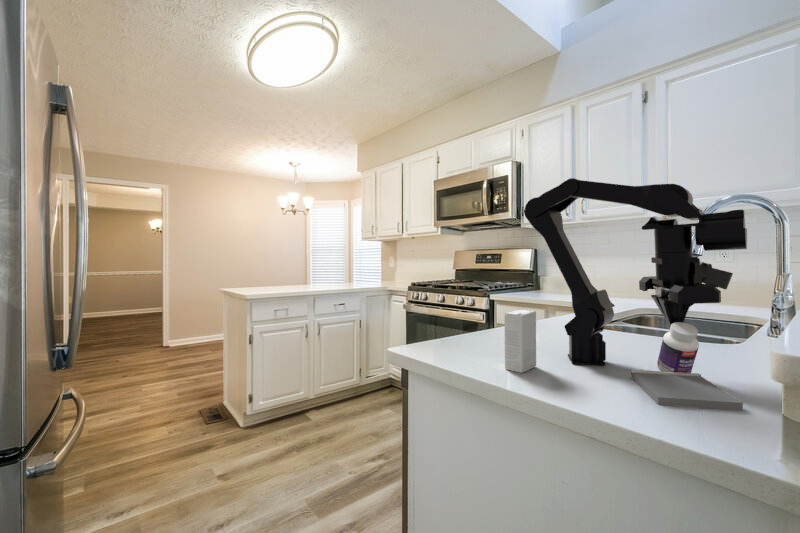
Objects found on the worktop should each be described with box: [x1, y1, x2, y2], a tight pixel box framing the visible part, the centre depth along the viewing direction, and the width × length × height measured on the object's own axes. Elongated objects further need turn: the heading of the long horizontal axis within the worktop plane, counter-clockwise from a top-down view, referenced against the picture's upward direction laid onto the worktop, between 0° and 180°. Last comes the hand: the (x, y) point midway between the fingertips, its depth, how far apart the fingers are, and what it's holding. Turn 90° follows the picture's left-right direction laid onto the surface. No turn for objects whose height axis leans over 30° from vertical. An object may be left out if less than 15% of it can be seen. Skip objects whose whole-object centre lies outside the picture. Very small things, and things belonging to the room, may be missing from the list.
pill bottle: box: [656, 322, 700, 373], centre depth 69 cm, size 5×5×10 cm
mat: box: [630, 369, 744, 412], centre depth 63 cm, size 11×13×2 cm
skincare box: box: [504, 309, 537, 374], centre depth 78 cm, size 6×4×12 cm
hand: (676, 332), depth 71 cm, fingers closed, pressing on pill bottle
